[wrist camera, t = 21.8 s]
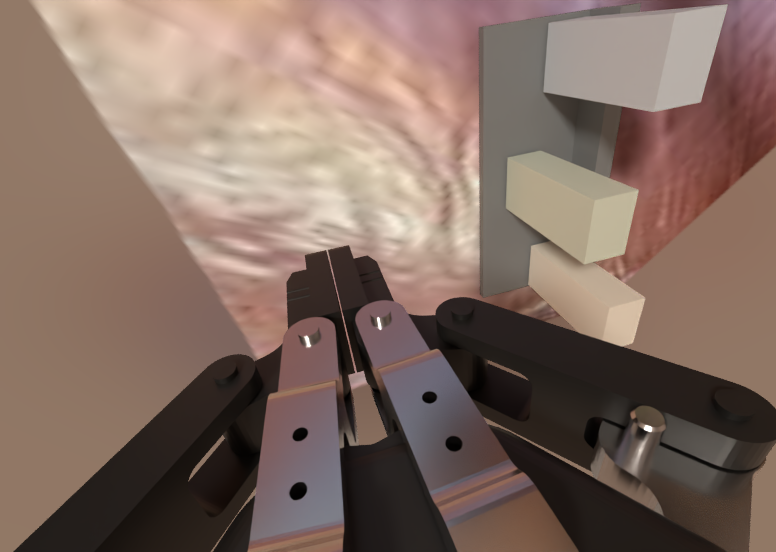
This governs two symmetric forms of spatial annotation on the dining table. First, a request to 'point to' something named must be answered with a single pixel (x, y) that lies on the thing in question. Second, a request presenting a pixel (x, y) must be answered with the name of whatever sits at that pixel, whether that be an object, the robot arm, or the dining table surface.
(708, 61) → the tile three
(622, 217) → the tile two
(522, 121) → the tile stand
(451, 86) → the dining table surface
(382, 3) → the dining table surface
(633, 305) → the tile one
